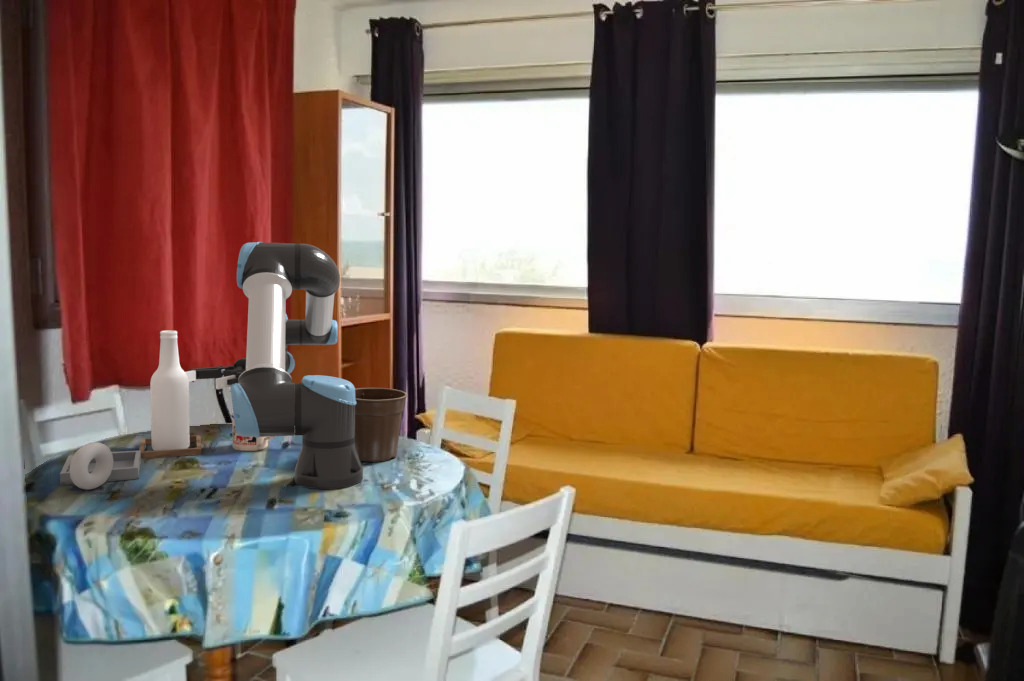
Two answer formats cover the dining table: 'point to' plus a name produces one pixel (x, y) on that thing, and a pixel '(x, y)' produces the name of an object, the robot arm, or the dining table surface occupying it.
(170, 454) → the square wooden frame
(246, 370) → the robot arm
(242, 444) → the teacup with lid
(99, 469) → the donut
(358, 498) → the dining table surface
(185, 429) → the alcohol
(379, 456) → the plant pot
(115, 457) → the tray
